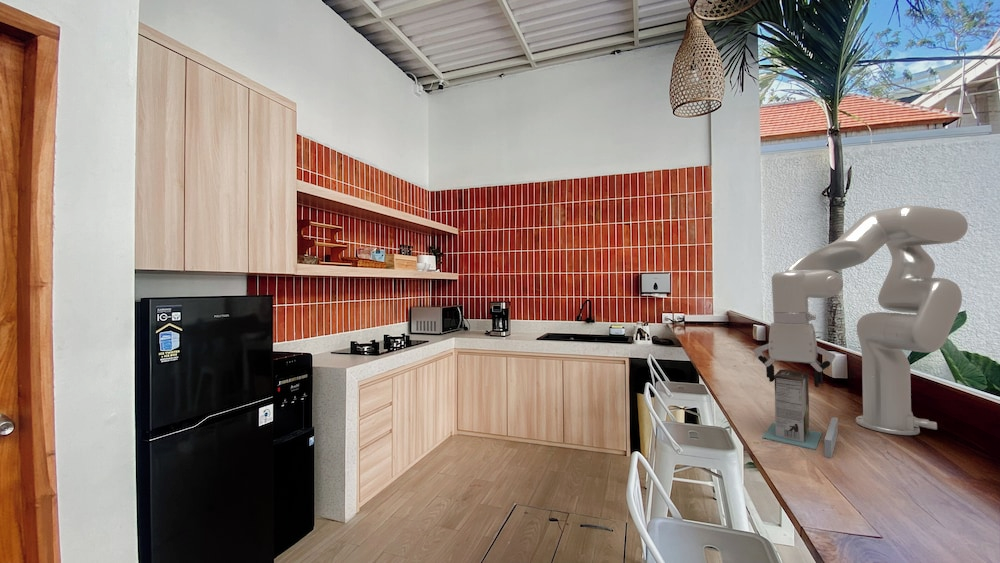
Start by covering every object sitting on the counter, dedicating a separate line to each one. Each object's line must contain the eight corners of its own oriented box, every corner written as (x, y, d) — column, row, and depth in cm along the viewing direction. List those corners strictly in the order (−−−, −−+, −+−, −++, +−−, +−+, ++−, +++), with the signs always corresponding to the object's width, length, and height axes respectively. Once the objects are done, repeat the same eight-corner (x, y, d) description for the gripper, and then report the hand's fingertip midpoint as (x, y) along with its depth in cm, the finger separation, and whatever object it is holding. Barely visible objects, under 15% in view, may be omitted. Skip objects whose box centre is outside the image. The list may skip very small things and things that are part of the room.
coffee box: (781, 426, 110) (780, 368, 110) (810, 432, 105) (809, 372, 105) (774, 436, 103) (773, 374, 103) (805, 443, 99) (804, 378, 99)
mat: (821, 433, 105) (821, 432, 105) (815, 450, 95) (815, 448, 95) (772, 423, 113) (772, 422, 113) (762, 438, 103) (762, 437, 103)
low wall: (838, 433, 106) (837, 418, 106) (831, 458, 91) (831, 440, 91) (832, 432, 106) (831, 417, 106) (824, 456, 92) (824, 439, 92)
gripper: (834, 318, 101) (837, 384, 101) (755, 316, 113) (758, 376, 113) (832, 321, 96) (835, 391, 96) (749, 319, 108) (752, 381, 108)
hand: (793, 383), depth 104 cm, fingers open, 9 cm apart
